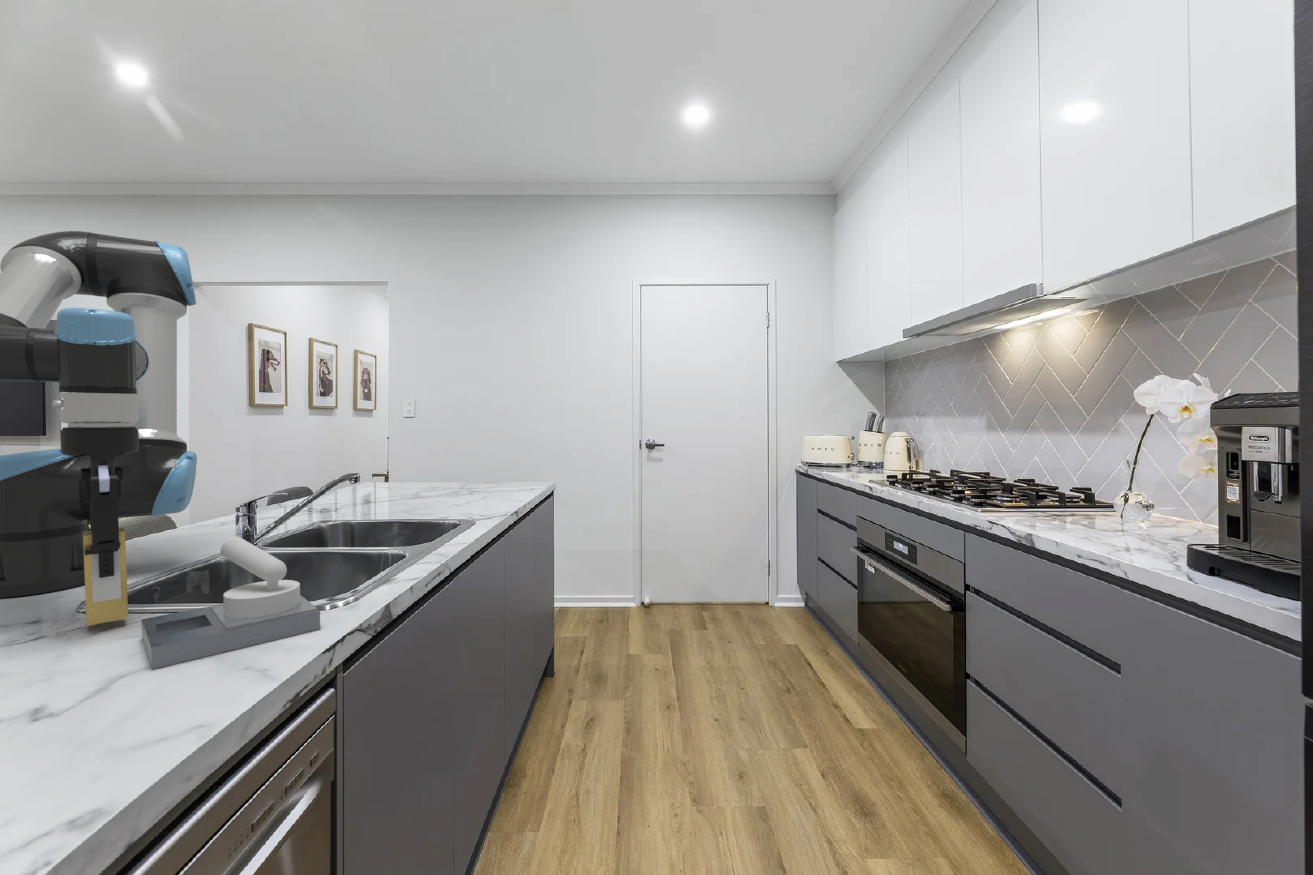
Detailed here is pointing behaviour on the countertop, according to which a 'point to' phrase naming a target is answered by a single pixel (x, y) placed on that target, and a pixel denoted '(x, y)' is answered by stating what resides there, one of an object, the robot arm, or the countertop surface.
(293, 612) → the block
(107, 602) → the yellow block
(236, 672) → the countertop surface
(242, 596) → the white tilted spotlight lamp
